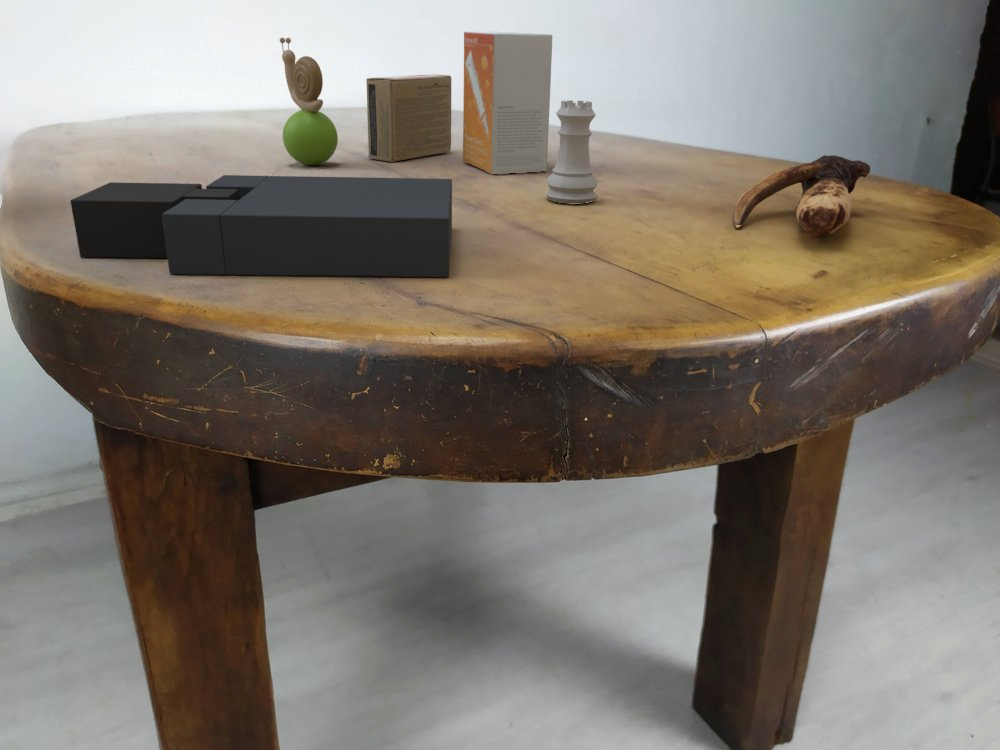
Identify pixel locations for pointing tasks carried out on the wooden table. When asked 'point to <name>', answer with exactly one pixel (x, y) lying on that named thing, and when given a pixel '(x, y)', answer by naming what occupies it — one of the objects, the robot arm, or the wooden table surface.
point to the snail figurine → (307, 112)
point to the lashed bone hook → (811, 193)
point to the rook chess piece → (573, 156)
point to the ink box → (408, 116)
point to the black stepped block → (132, 217)
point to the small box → (506, 101)
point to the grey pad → (314, 228)
